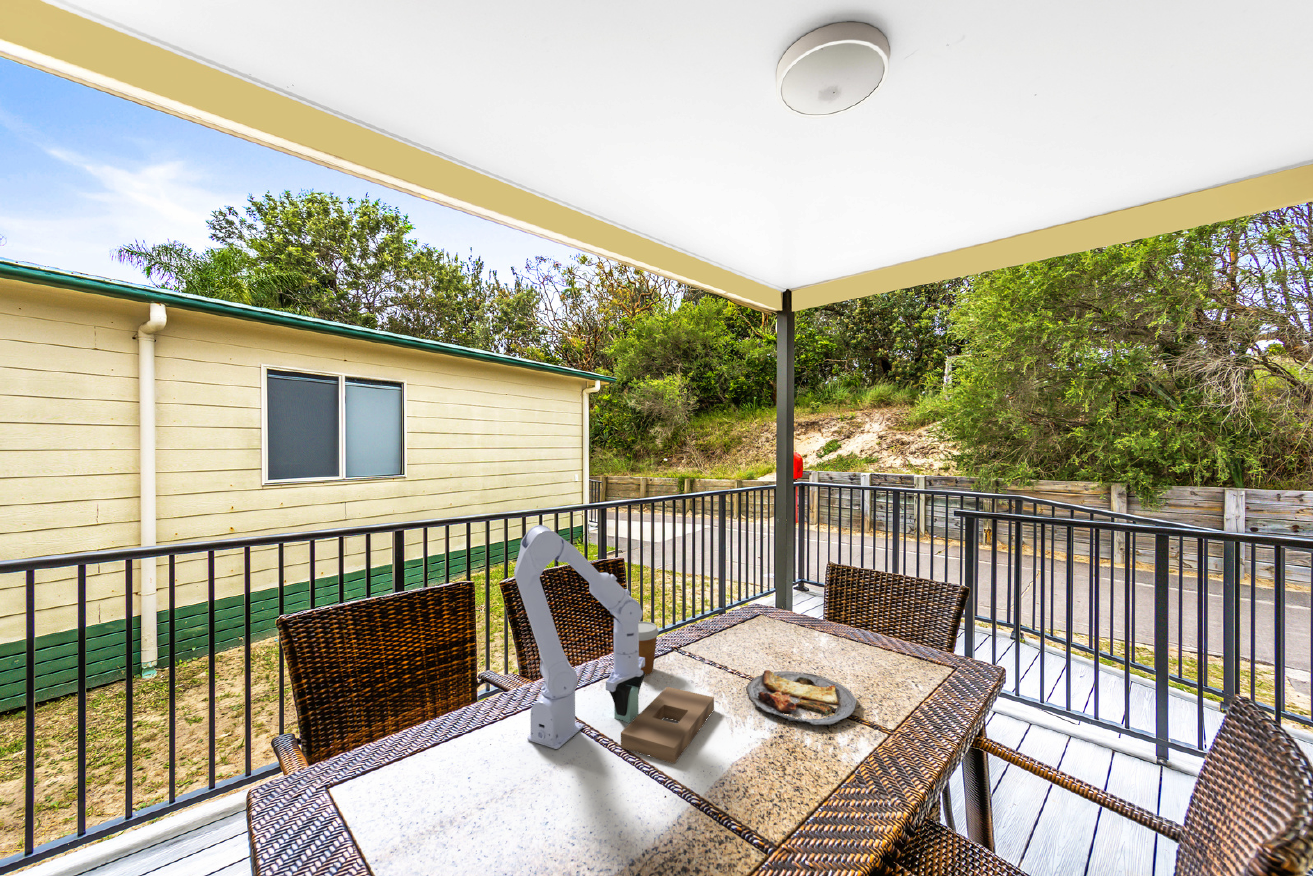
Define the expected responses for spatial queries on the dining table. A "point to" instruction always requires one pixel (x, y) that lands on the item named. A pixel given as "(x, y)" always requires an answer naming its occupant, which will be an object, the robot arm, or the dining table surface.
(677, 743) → the well board
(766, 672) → the food plate
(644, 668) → the disposable coffee cup
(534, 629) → the robot arm
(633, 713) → the teal block
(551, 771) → the dining table surface
